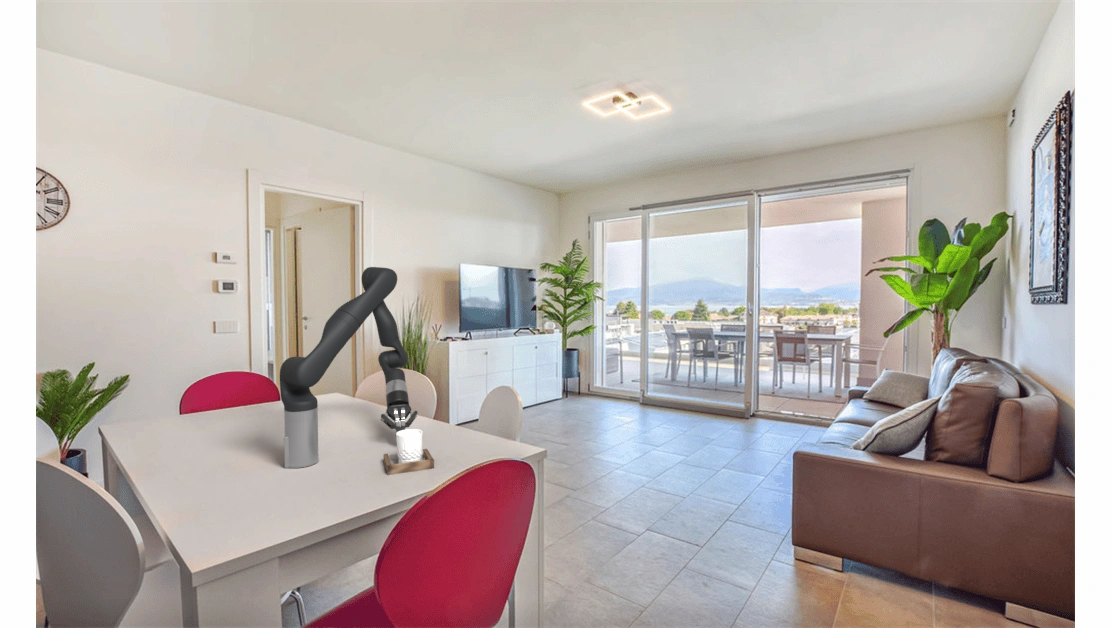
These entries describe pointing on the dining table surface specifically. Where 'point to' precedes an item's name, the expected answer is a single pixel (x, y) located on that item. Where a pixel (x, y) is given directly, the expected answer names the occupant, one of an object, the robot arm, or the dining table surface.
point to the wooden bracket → (409, 464)
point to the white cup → (409, 445)
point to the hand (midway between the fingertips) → (401, 437)
